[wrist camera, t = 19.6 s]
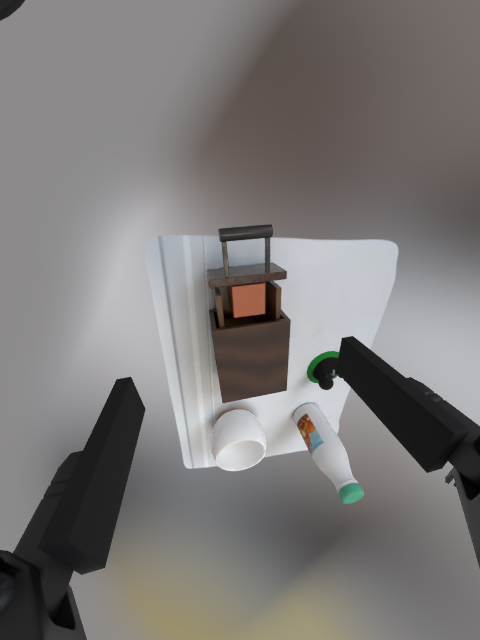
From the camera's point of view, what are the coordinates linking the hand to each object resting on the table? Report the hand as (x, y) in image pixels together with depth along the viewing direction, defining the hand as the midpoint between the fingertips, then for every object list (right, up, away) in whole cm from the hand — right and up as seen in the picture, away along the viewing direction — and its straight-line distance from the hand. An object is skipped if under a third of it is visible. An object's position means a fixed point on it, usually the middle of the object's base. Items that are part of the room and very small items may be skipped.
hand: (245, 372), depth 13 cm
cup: (-2, -22, +40) cm, 45 cm away
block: (0, +8, +22) cm, 24 cm away
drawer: (0, +9, +23) cm, 25 cm away
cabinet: (+1, -1, +30) cm, 30 cm away
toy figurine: (+21, -9, +38) cm, 44 cm away
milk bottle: (+18, -22, +44) cm, 53 cm away
